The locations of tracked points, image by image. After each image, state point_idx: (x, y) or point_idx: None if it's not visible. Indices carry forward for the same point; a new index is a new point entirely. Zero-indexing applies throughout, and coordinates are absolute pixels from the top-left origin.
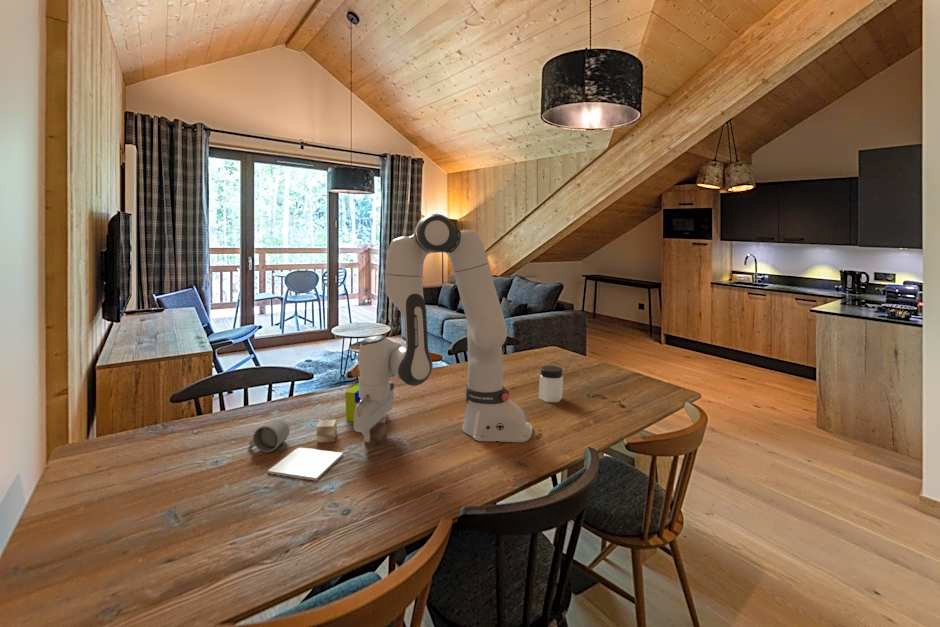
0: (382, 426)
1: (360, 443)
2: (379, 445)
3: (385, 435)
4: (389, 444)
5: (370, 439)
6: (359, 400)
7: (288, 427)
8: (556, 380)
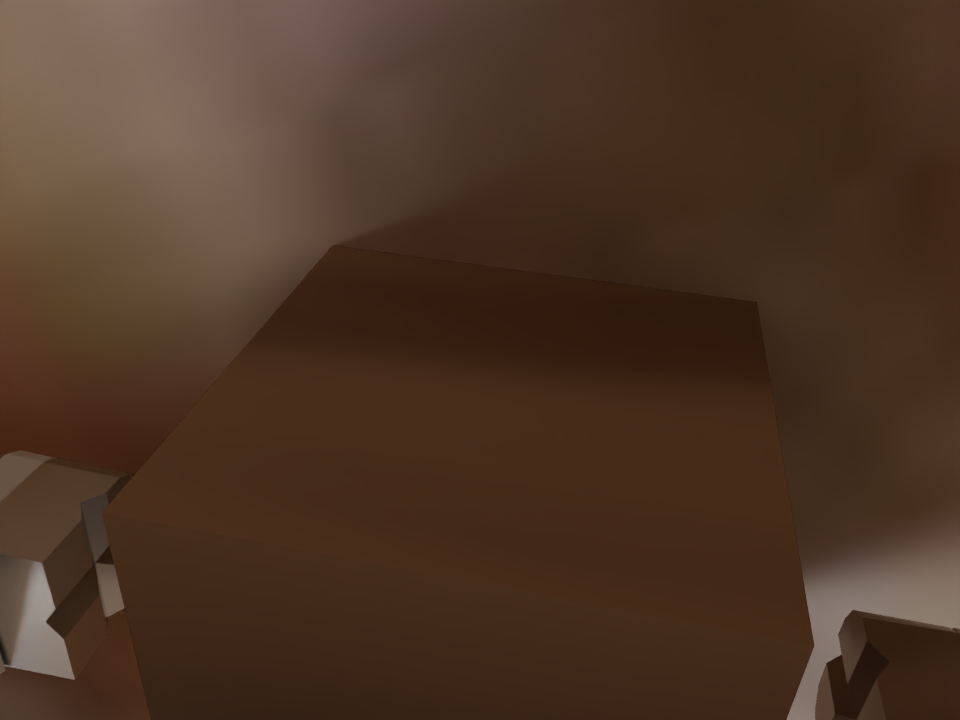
0: (431, 601)
1: None
2: (755, 318)
3: (374, 309)
4: (661, 74)
5: (938, 642)
6: None
7: None
8: None
